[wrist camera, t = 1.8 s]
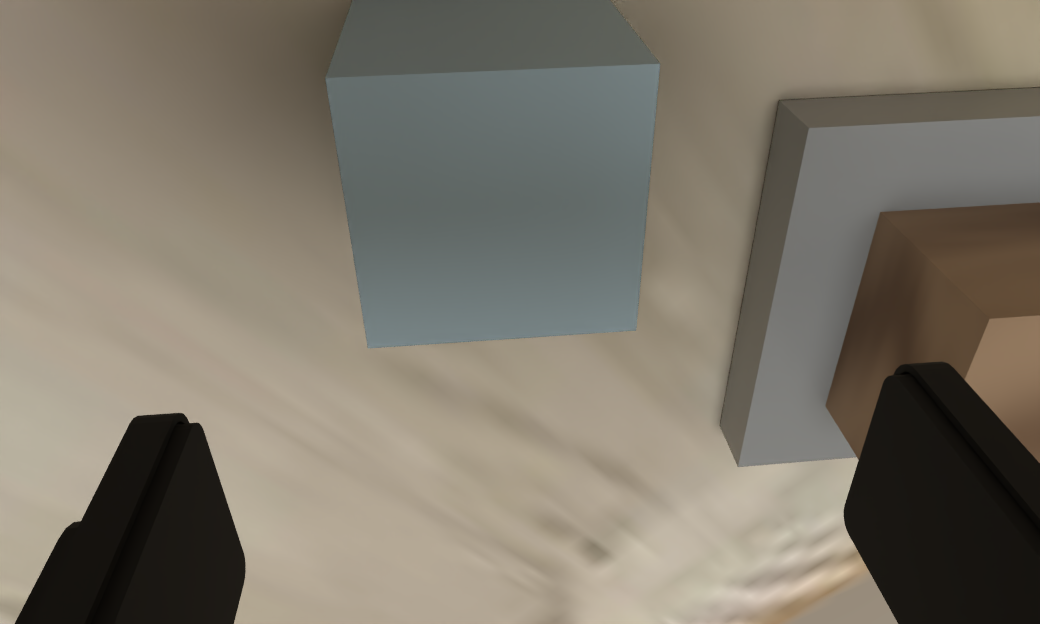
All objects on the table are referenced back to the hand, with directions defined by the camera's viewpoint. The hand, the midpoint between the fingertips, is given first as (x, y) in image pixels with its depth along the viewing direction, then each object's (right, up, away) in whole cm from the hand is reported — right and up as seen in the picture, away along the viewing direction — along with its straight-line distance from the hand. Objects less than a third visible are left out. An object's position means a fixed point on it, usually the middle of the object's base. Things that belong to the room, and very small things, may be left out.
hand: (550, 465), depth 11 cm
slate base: (+13, +3, +14) cm, 19 cm away
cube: (-1, +7, +10) cm, 12 cm away
